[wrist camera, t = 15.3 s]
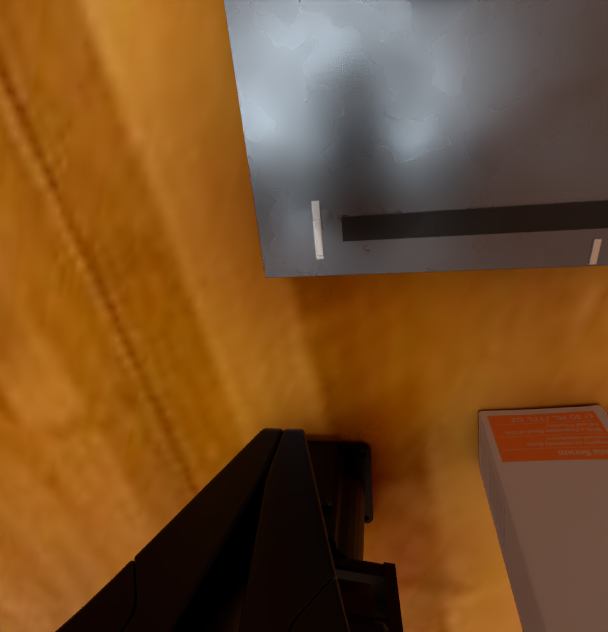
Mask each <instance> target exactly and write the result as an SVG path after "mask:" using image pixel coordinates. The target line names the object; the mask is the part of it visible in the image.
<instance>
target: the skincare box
mask: <svg viewBox="0 0 608 632" xmlns="http://www.w3.org/2000/svg"><path fill="white" fill-rule="evenodd" d="M478 419H479V467H480V472H481V476H482V480H483V483H484V487H485V491H486V495H487V498H488V502H489V506H490V510H491V513H492V517H493V521H494V525H495V528H496V532H497V535H498V539H499V543H500V547H501V551H502V554H503V558H504V562H505V565H506V569H507V573H508V577H509V581H510V584H511V588H512V592H513V595H514V599H515V603H516V607H517V610H518V614H519V618H520V622H521V625H522V629H523V632H608V415H607V413H606V412H605V410H604V409H603V408H602V407H601V406H600V405H593V406H584V407H564V408H547V409H526V410H498V411H480V412H479V413H478Z"/></svg>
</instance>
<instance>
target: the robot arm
mask: <svg viewBox="0 0 608 632" xmlns="http://www.w3.org/2000/svg"><path fill="white" fill-rule="evenodd" d="M359 451H364V452H363V453H362V452H359ZM372 520H373V502H372V474H371V449H370V447H369V446H368V445H367V444H365V443H350V442H320V441H306V436H305V432H304V430H302V429H285V430H284V431H283V430H282V429H276V428H265V429H263V430H261V431H260V432H259V433H258V434H257V435H256V436H255V437H254V438H253V439H252V440H251V441H250V442H249V443H248V444H247V445H246V446H245V447H244V448H243V449H242V450H241V451H240V452H239V453H238V454H237V455H236V456H235V457H234V458H233V459H232V460H231V461H230V462H229V463H228V464H227V465H226V466H225V467H224V468H223V469H222V470H221V471H220V472H219V473H218V474H217V475H216V476H215V477H214V478H213V479H212V480H211V481H210V482H209V483H208V484H207V485H206V486H205V487H204V488H203V489H202V490H201V491H200V492H199V493H198V494H197V495H196V496H195V497H194V498H193V499H192V500H191V501H190V502H189V503H188V504H187V505H186V506H185V507H184V508H183V509H182V510H181V511H180V512H179V513H178V514H177V515H176V516H175V517H174V518H173V519H172V520H171V521H170V522H169V523H168V524H167V525H166V526H165V527H164V528H163V529H162V530H161V531H160V532H159V533H158V534H157V535H156V536H155V537H154V538H153V539H152V540H151V541H150V542H149V543H148V544H147V545H146V546H145V547H144V548H143V549H142V550H141V551H140V552H139V553H138V554H137V555H136V556H135V558H134V561H130V562H129V563H128V564H127V565H126V566H125V567H124V568H123V569H122V570H121V571H120V572H119V573H118V574H117V575H116V576H115V577H114V578H113V579H112V580H111V581H110V582H109V583H108V584H107V585H105V586H104V587H103V588H102V589H101V590H100V591H99V592H98V593H97V594H96V595H95V596H94V597H93V598H92V599H91V600H90V601H89V602H88V603H87V604H86V605H85V606H84V607H82V608H81V609H80V610H79V611H78V612H77V613H76V614H75V615H73V616H72V617H71V618H70V619H69V620H68V621H67V622H66V623H64V624H63V625H62V626H61V627H60V628H59V629H58V630H57V631H55V632H403V626H402V618H401V610H400V601H399V593H398V585H397V577H396V568H395V564H392V563H386V562H384V563H383V564H380V563H373V562H367V561H363V550H364V523H370V522H371V521H372Z"/></svg>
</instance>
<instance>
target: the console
mask: <svg viewBox="0 0 608 632" xmlns="http://www.w3.org/2000/svg"><path fill="white" fill-rule="evenodd" d="M224 5H225V11H226V18H227V25H228V31H229V38H230V45H231V51H232V58H233V65H234V71H235V78H236V85H237V91H238V98H239V104H240V111H241V118H242V124H243V131H244V138H245V144H246V151H247V158H248V164H249V171H250V178H251V184H252V191H253V198H254V204H255V211H256V218H257V224H258V231H259V238H260V244H261V251H262V258H263V264H264V271H265V278H274V277H301V276H328V275H356V274H383V273H411V272H438V271H466V270H493V269H521V268H548V267H575V266H603V265H608V0H224Z"/></svg>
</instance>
